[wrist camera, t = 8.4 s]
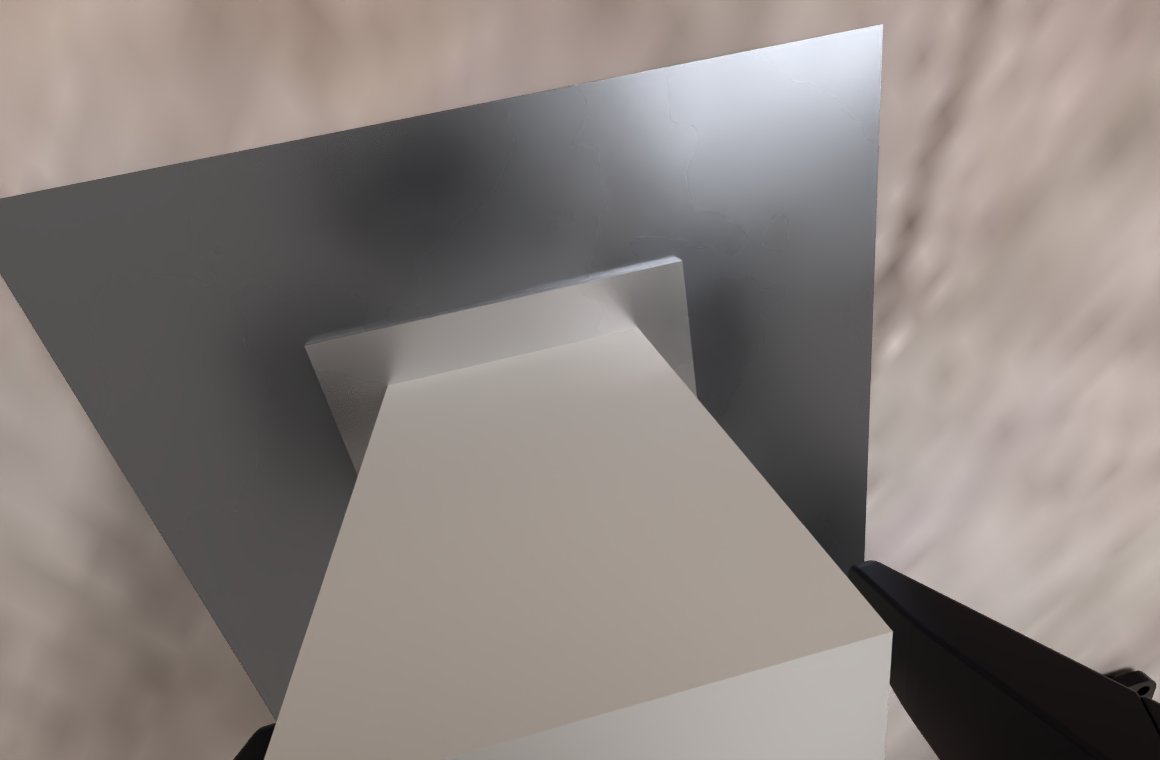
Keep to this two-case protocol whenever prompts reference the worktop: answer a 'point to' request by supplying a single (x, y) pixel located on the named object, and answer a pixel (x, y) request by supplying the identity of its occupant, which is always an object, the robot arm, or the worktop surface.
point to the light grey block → (577, 584)
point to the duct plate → (465, 297)
